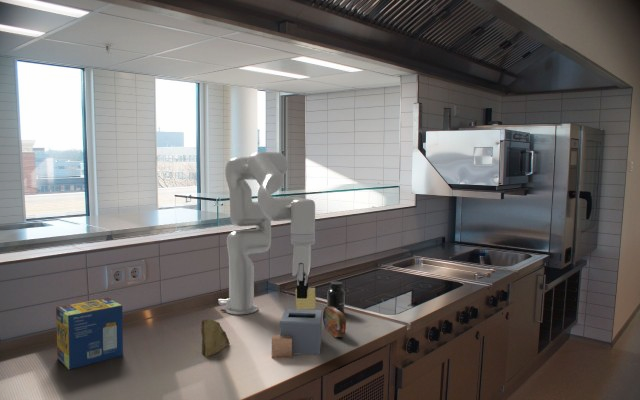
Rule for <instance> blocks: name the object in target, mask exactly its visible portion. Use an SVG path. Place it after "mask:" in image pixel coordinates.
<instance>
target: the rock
mask: <svg viewBox="0 0 640 400" xmlns="http://www.w3.org/2000/svg"><path fill="white" fill-rule="evenodd" d="M200 326H201V329H200V331H201V339H202V340H201V354H202V355H203V356H204V357H205V358H208V357H209V356H213V355H215V354H218V353H219V352H221V351H222V350H223V349H225V348H226V347H227V346H229V345H230V340H229V338H228V335H227V333H226V331H225V330H224V329H223V327H222V325H221V324H220V322H218V321H216V320H214V319H211V318H207V319H202V320H201V325H200Z"/></svg>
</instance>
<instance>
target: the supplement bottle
mask: <svg viewBox="0 0 640 400" xmlns="http://www.w3.org/2000/svg"><path fill="white" fill-rule="evenodd" d="M343 288H344V287H343V282H341V281H331V282H330V284H329V289H328V290H327V294H326V295H327V297H326V302H327V303H326V307H327V306H328V307H335V308H336V309H338V310H339V311H340V312H342V313H343V314H344V315H345V304H346V303H345V301H346V300H345V299H346V297H345V296H346V292H345V290H344V289H343Z"/></svg>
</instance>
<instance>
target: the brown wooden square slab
mask: <svg viewBox="0 0 640 400" xmlns="http://www.w3.org/2000/svg"><path fill="white" fill-rule="evenodd" d="M271 358H272V359H293V336H280V335H275V334H273V335H272V336H271Z"/></svg>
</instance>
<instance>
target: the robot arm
mask: <svg viewBox="0 0 640 400" xmlns="http://www.w3.org/2000/svg"><path fill="white" fill-rule="evenodd" d="M288 167H289V163H288V159H287V157H286V156H285V154H283V153H281V152H274V151H272V152H271V151H256V152H254V153H252V154H250V156H239V157H233V158H230V159H229V160H227V163H226V165H225V170H224V171H225V172H224V173H225V179H226V183H227V186H228V187H227V188H228V190H229V219H230V223H231V224H232V225H233V226H234V227H255V228H253V229H238V230H233V231H231V232H230V233H228V235H227V238H226V247H227V253H228V254H227V255H228V276H229V277H228V283H229V284H228V298H226V299H225V298H218V304H219V305H220V306H225V307H224V311H225V312H226V313H227V314H231V315H239V316H241V315H242V316H243V315H249V314H253V313H256V312H257V311H258V310H259V309H258V305H257V304H255V303H254V302H255V301H254V299H255V298H254V297H255V291H254V289H255V284H254V283H255V282H254V281H255V268H254V267H255V266H254V263H253V260H251V258H250V257H249V255H251V254H262V253H266V252H267V251H269V250H270V248H271V245H272V222H285V221H290V244H291V245H292V246H293V250H292V251H293V252H292V275H291V276H292V277H294V278H295V277H296V276H297V278H296V279H297V280H296V281H297V282H296V283H297V284H296V289H297V298H302V299H306V298H307V288H309V283H308V276H309V274H310V270H311V261H312V245H315V243H316V238H315V237H316V202H315V201H314V200H313V199H308V198H303V197H300V196H293V197H292V196H286V197H285V196H284V197H282V196H281V197H279V196H278V197H274V196H273V194H274V193H276V192H278V191H279V190H280V189H282V187H283V186H284V182H285V178H284V175H285V174H286V173H287V171H288V169H289V168H288ZM247 180H252V181H253V180H256V181H257V183H258V185H259V188H258V191H257V201H253V199H252V197H253V196H252V195H253V193H252V189H251V186H250V185H249V183H248V182H247Z"/></svg>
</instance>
